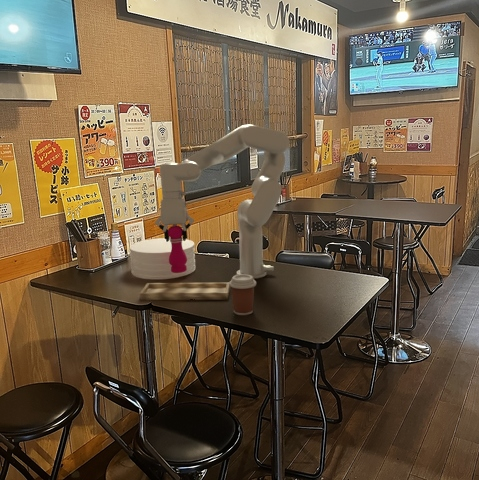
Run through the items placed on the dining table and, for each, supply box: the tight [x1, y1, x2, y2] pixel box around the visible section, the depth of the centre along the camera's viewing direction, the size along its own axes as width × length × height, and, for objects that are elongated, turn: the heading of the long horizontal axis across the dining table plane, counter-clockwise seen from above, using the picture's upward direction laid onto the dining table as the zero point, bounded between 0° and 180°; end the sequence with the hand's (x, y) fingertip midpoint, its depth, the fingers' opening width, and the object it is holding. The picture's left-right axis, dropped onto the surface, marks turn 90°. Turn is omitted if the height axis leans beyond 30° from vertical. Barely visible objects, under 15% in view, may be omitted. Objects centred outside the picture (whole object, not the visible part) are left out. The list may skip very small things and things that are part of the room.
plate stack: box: [129, 237, 196, 280], centre depth 211 cm, size 28×28×12 cm
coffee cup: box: [229, 274, 257, 316], centre depth 159 cm, size 9×9×12 cm
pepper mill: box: [167, 224, 187, 273], centre depth 190 cm, size 7×7×20 cm
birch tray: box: [138, 281, 231, 301], centre depth 179 cm, size 32×12×2 cm, turn 88°
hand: (176, 240), depth 189 cm, fingers closed on pepper mill, 6 cm apart
